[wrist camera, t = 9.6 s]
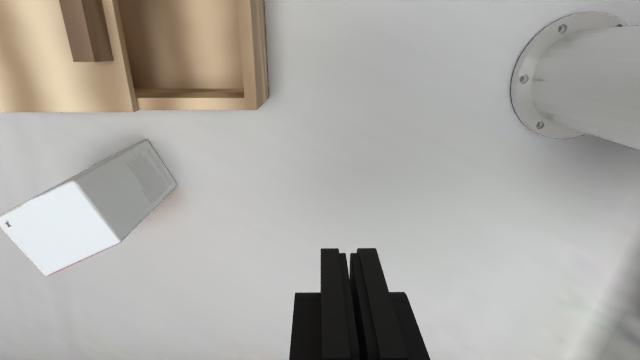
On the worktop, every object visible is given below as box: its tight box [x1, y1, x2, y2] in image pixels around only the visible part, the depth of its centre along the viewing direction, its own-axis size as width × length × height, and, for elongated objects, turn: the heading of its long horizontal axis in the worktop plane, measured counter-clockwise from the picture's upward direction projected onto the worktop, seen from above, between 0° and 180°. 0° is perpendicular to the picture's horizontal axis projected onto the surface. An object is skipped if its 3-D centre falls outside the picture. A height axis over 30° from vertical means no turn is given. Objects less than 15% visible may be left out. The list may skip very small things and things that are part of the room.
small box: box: [0, 139, 177, 276], centre depth 34 cm, size 8×6×13 cm
